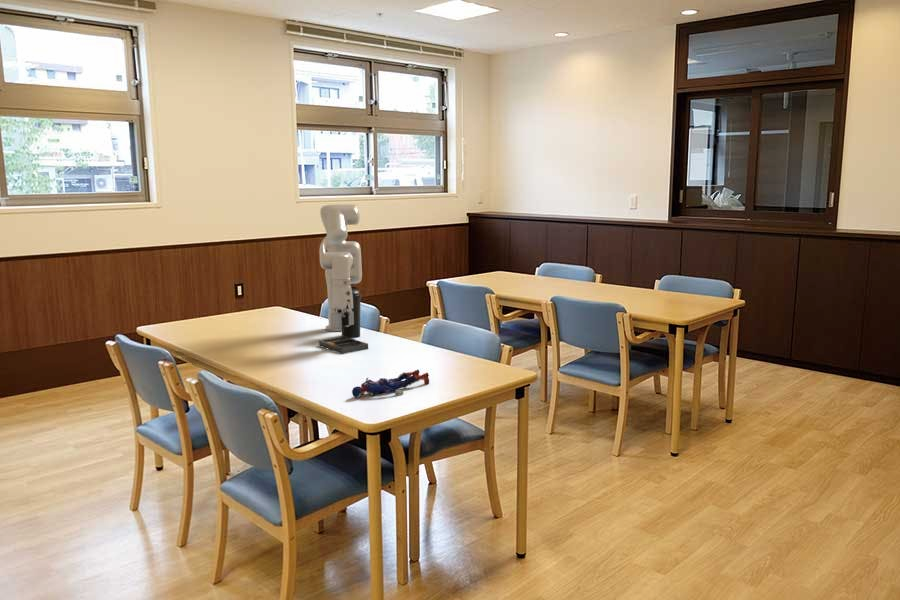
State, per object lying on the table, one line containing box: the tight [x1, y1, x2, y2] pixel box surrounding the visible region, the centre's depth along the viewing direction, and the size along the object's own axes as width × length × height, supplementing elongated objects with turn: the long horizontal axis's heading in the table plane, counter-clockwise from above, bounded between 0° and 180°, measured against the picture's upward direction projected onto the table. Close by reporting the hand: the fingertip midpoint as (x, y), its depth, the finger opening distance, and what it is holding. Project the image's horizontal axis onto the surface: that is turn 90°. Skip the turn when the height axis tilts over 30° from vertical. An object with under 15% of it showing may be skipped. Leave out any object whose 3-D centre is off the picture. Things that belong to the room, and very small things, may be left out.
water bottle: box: [341, 285, 362, 339], centre depth 319 cm, size 10×10×23 cm
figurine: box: [351, 368, 430, 398], centre depth 239 cm, size 15×6×30 cm
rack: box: [318, 335, 369, 355], centre depth 300 cm, size 13×19×3 cm
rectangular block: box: [330, 311, 354, 327], centre depth 298 cm, size 10×4×6 cm, turn 131°
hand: (342, 324), depth 298 cm, fingers closed on rectangular block, 3 cm apart
